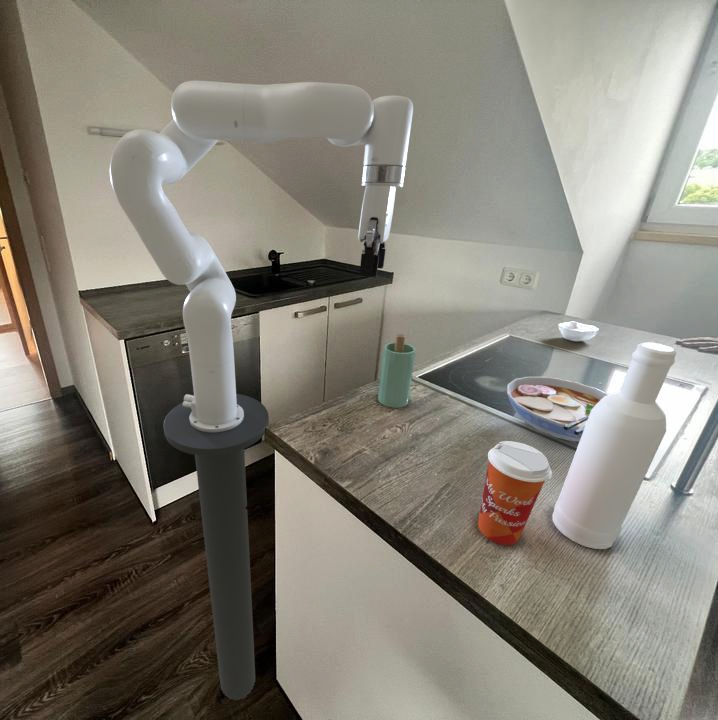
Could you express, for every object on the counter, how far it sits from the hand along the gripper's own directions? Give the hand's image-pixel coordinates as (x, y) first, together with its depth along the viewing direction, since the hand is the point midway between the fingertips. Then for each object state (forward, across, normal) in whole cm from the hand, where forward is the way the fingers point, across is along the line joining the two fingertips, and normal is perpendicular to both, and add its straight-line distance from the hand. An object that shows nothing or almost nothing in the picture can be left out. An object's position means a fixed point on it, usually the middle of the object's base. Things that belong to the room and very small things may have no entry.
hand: (371, 271), depth 78 cm
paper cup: (+32, +27, +27) cm, 50 cm away
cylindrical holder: (+32, -8, +8) cm, 34 cm away
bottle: (+32, +22, +39) cm, 55 cm away
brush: (+31, -8, +8) cm, 33 cm away
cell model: (+31, -74, +63) cm, 102 cm away
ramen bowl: (+32, -8, +43) cm, 54 cm away
